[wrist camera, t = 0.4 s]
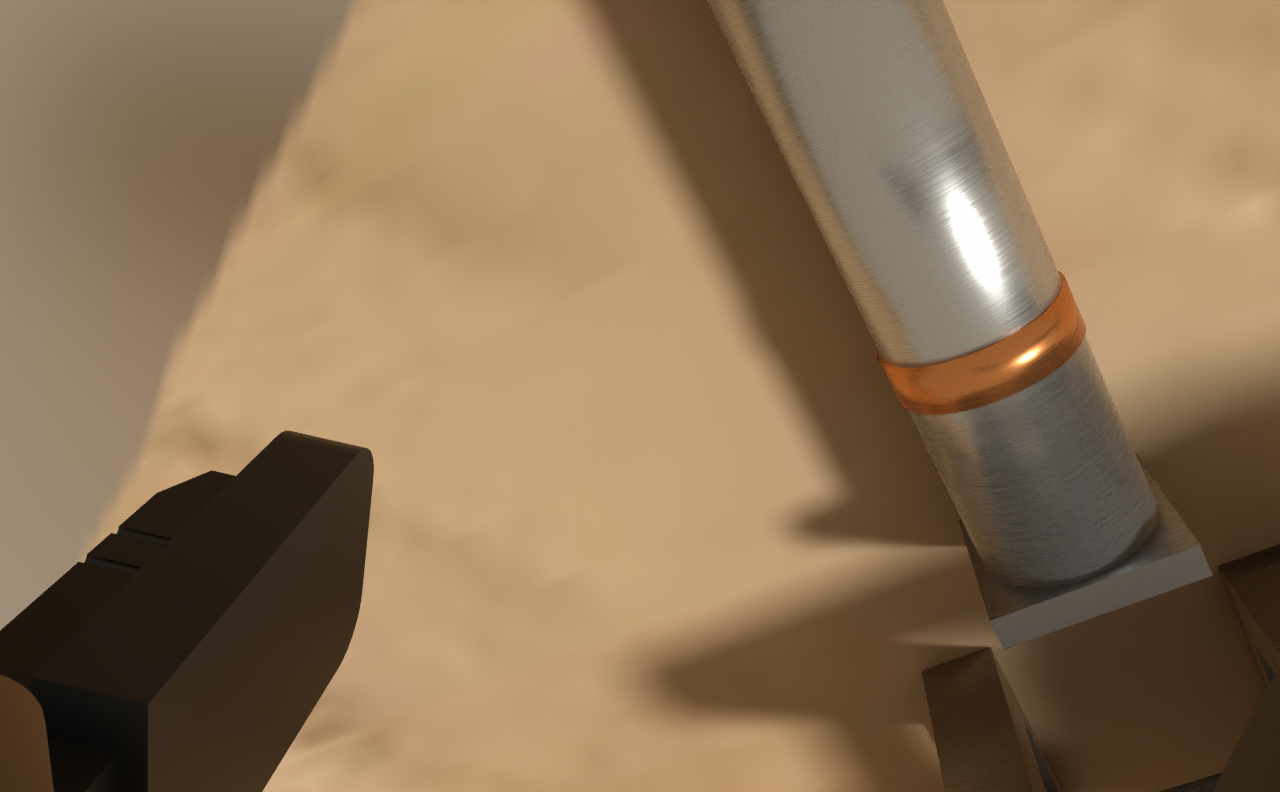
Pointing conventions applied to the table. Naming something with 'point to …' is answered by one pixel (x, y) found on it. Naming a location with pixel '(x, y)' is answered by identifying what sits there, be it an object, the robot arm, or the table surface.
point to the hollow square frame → (997, 729)
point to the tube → (963, 305)
